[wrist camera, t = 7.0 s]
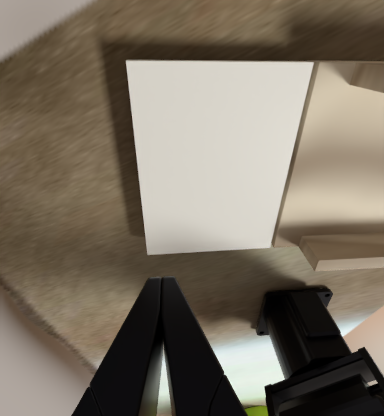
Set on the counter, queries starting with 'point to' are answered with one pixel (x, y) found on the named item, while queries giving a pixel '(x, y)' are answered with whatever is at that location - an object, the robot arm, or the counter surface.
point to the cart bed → (337, 170)
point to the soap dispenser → (257, 411)
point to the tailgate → (214, 149)
